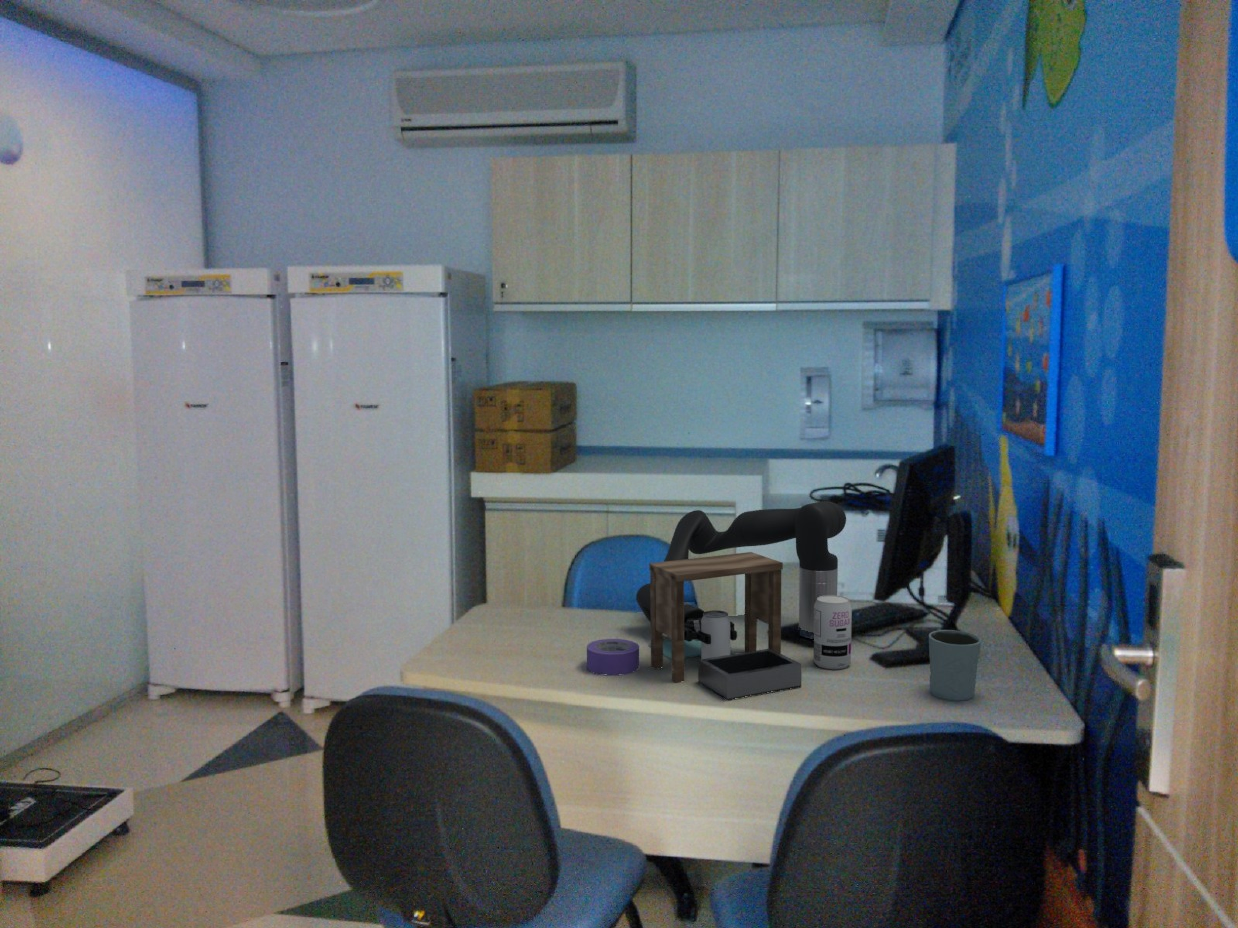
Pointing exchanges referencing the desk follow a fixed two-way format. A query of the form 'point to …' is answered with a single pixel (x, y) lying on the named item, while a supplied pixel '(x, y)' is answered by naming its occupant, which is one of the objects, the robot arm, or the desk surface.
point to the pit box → (749, 673)
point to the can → (716, 634)
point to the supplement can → (832, 632)
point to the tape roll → (612, 656)
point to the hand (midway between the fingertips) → (722, 637)
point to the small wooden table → (672, 574)
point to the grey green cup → (953, 664)
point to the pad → (689, 648)
